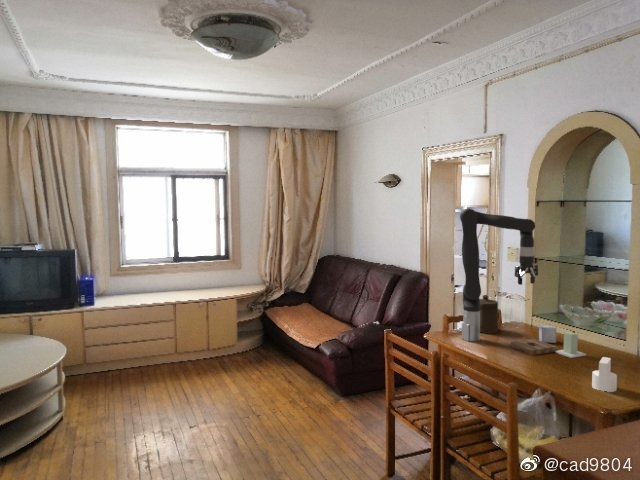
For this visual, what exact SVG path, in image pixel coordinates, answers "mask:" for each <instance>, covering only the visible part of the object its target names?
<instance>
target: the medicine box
mask: <svg viewBox="0 0 640 480" xmlns="http://www.w3.org/2000/svg"><path fill="white" fill-rule="evenodd" d="M538 340H539V341H542V342H545V343H548V344H550V343H551V344H552V343H554V344H555V343H557V327H555V326H554V325H539V326H538Z"/></svg>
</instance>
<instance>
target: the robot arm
mask: <svg viewBox="0 0 640 480" xmlns="http://www.w3.org/2000/svg"><path fill="white" fill-rule="evenodd" d="M459 219H460V221H461V227H462V242H461V257H462V258H461V260H462V264H463V269H464V273H465V276H464V277H465V283H464V285H463V286H462V287H463V288H462V305H463V306H462V307H463V311H462V312H463V313H462V314H463V319H462V321H463V322H461V339H462V340H464V341H465V342H479V341H480V340H481V333H480V301H479V299H480V297H481V295H482V287H481V282H480V280H481V279H480V249H479V239H478V230H477V228H478V225H484V226H491V227H493V228H494V227H496V228H498V229H499V228H500V229H505V230H506V229H507V230H515V231H519V235H520V236H519V237H520V242H519V265H515V267H514V277H515V278H517V284H518V285H523V277H524V276H525V274H529V275H530V279H529V280H530V281H529V282H530V284H535V282H536V276H539V266H538V265H537V264H535V239H534V232H533V231H534V230H535V228H536V223H535V222H534V220H532V219H530V218H522V217H521V218H519V217H514V216H511V215H510V216H509V215H501V214H490V213H484V212H480V211H477V210H474V209H471V208H465V209H464V210H462V211H461V212H460V214H459Z"/></svg>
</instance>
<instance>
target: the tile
mask: <svg viewBox="0 0 640 480" xmlns="http://www.w3.org/2000/svg"><path fill="white" fill-rule="evenodd" d="M554 353H556V354H559V355H561V356H564V357H568V358H570V359H573V358H579V357H585V356H587V353H584V352H581V351H578V350H577V353H575V354H569V353H566V352H563V349H557V351H555V352H554Z"/></svg>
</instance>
